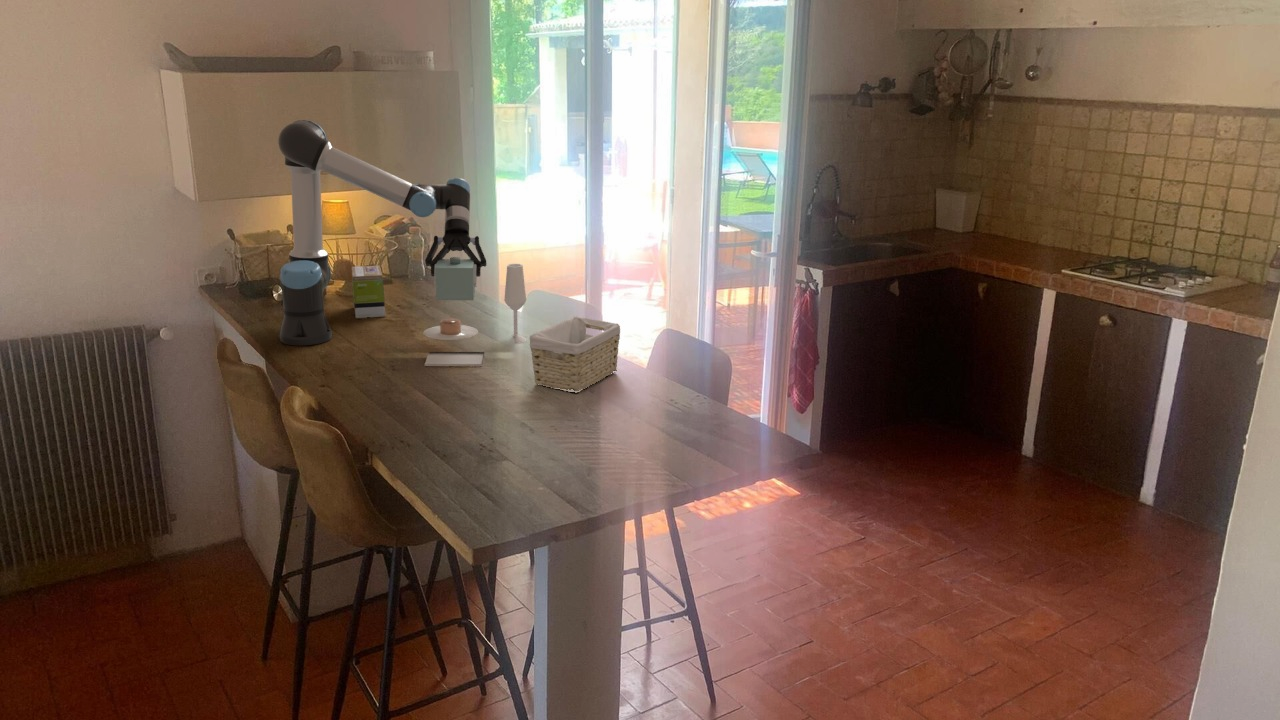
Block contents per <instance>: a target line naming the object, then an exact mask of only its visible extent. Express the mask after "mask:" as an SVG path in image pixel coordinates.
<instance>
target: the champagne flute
mask: <svg viewBox="0 0 1280 720" xmlns="http://www.w3.org/2000/svg"><path fill="white" fill-rule="evenodd" d="M526 295H527V294H526V285H525V275H524V266H523V264H521V263H508V264H507V265H506V276H505V288H504V299H503V300H504V303H505V304H506V306H507V307H508V308H509V309H510V310H513V334H512V335H511V336H512V337H514V338H515V339H514V343H515V344H521V343H525V342H526V341H527V338H526V337H523V336H522V335H519V334H518V332H519V331H518V311H519V310H520V309H522V308H523V306H524V305H525V304H526V302H527V296H526Z"/></svg>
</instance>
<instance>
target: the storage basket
mask: <svg viewBox="0 0 1280 720" xmlns="http://www.w3.org/2000/svg"><path fill="white" fill-rule="evenodd" d="M587 328H588V329H592V330H596V331H597V330H598V331H601V332H599V333H597V334H595V335H590V334H587V333H586V331H587ZM620 339H621V326H620V324H619V323H615V322H610V321H605V320H599V319H592V318H588V317H581V316H573V317H570V318H567V319H566V320H562V321H560V322H558V323H556V324H553V325H551V326H548V327H547V328H544V329H541V330H538V331H536V332H534V333H532V334H530V335H529V349H530V351H531V359H532V368H533V369H532V370H533V374H534V375H533V376H534V383H536V384H535V385H537V384H539V385H544V386H547V387H552V388H560V389H566V390H568V389H569V390H571V389H573V390H574V391H579V390H581V389H584V388H586V387H588V386H590V385H591V384H594V385H596V384H597V383H599V382H601V381H602V380H601V379H603V378H604V379H606V378H605V377H606V376H608V375H610V374H611V373H613V371H616V372H617V371H618V369H617V366H618V358H619V357H618V354H619V345H620V344H619V343H620ZM613 374H614V373H613ZM610 376H611V375H610ZM608 377H609V376H608ZM604 379H603V380H604ZM600 380H601V381H600ZM598 381H599V382H598ZM596 382H597V383H596ZM595 383H596V384H595ZM547 387H546V388H547ZM590 387H591V386H590ZM552 388H551V389H552ZM588 388H589V387H588Z"/></svg>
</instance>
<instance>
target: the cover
mask: <svg viewBox="0 0 1280 720" xmlns="http://www.w3.org/2000/svg"><path fill="white" fill-rule="evenodd" d="M435 277H436V287H435V296H436V301H474V299H475V292H476V287H474V261H473V260H471V259H470V258H468V259H467V258H463V259H462V258H460V257H459V256H452V257H449V258H443V259H441V260H438V261H437V264H436V267H435Z"/></svg>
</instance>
